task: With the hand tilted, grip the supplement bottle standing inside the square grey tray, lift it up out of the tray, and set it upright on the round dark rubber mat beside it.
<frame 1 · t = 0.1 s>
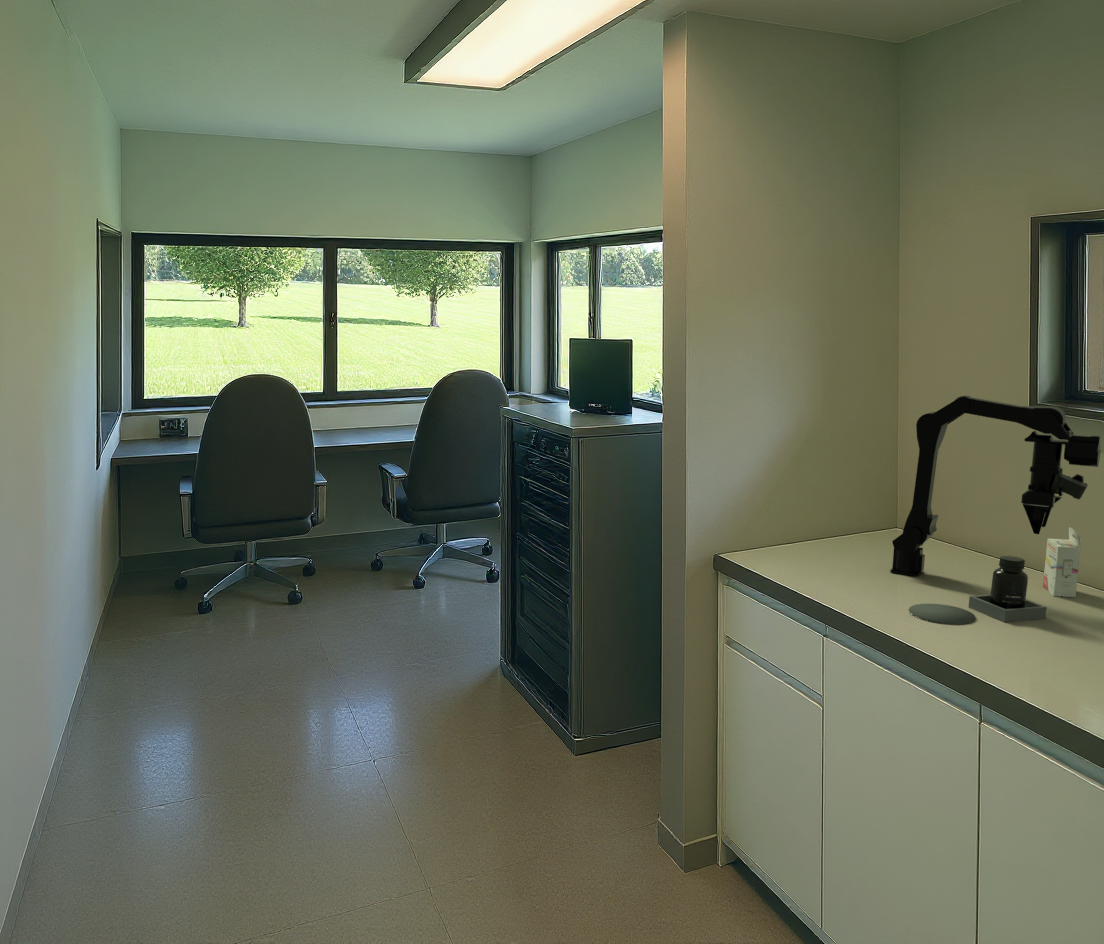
hand: (1039, 530, 216), 15 cm above the worktop, tool pointing down, fingers open, 9 cm apart
square grey tray: (1006, 612, 203), on the worktop
rubber mat: (941, 614, 201), on the worktop
ink cartridge box: (1058, 592, 219), on the worktop
supplement bottle: (1006, 613, 203), resting in square grey tray
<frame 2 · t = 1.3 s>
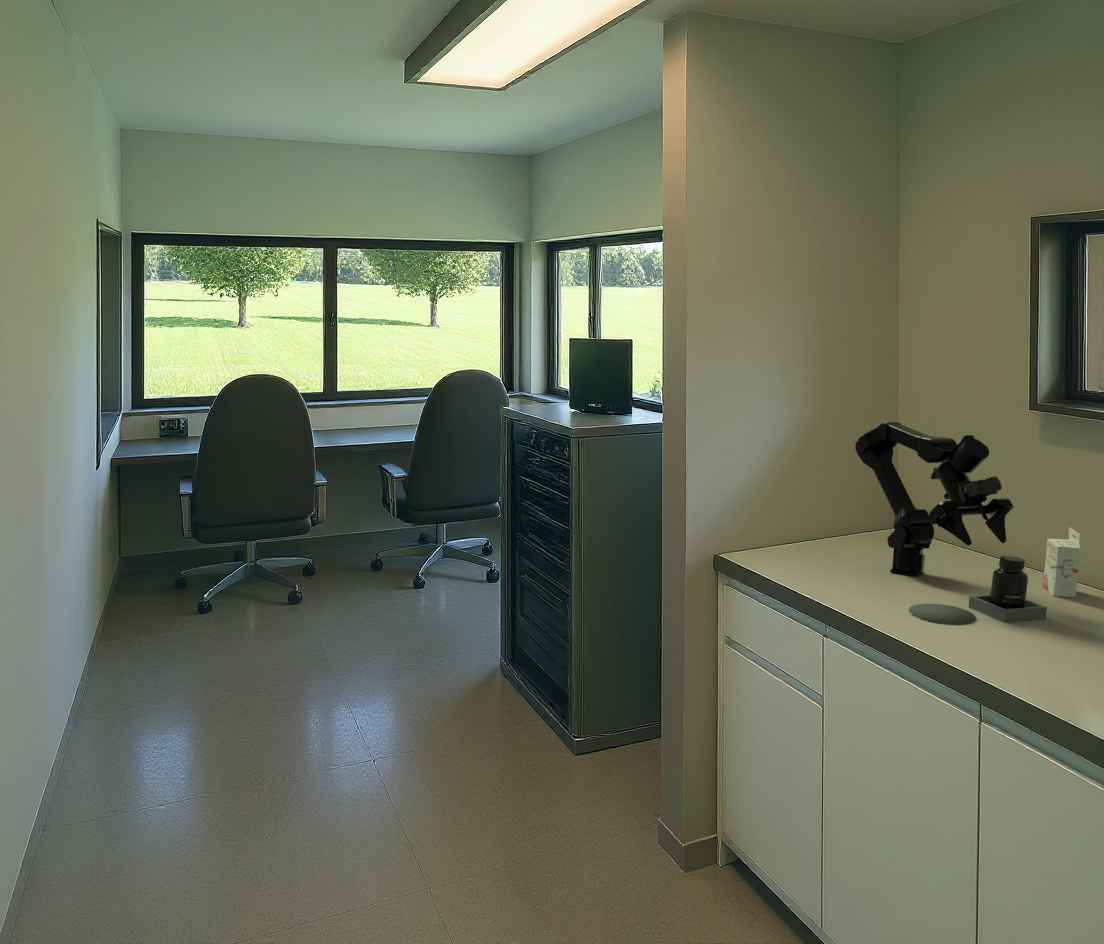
hand: (987, 543, 208), 13 cm above the worktop, tool tilted 45°, fingers open, 9 cm apart
nothing on the worktop moved.
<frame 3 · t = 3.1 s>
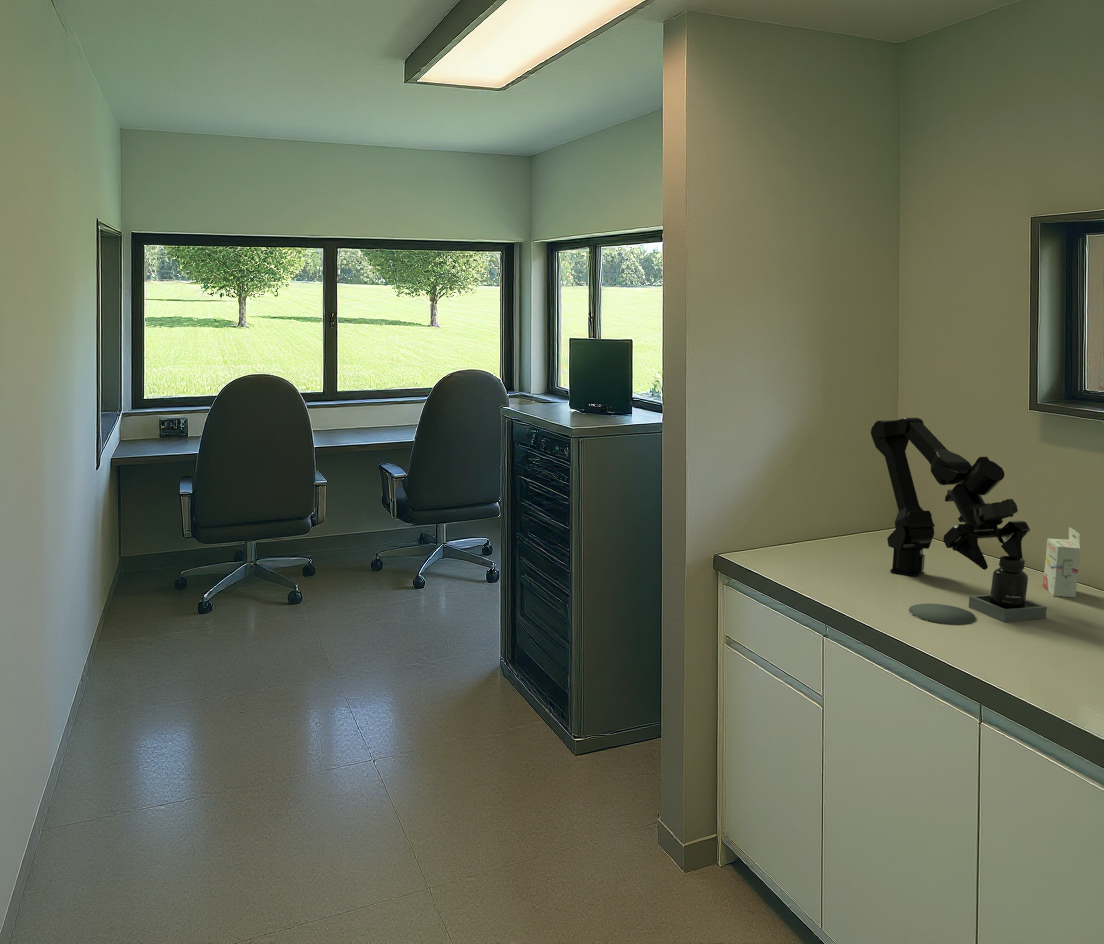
hand: (1003, 567, 203), 9 cm above the worktop, tool tilted 45°, fingers open, 9 cm apart
nothing on the worktop moved.
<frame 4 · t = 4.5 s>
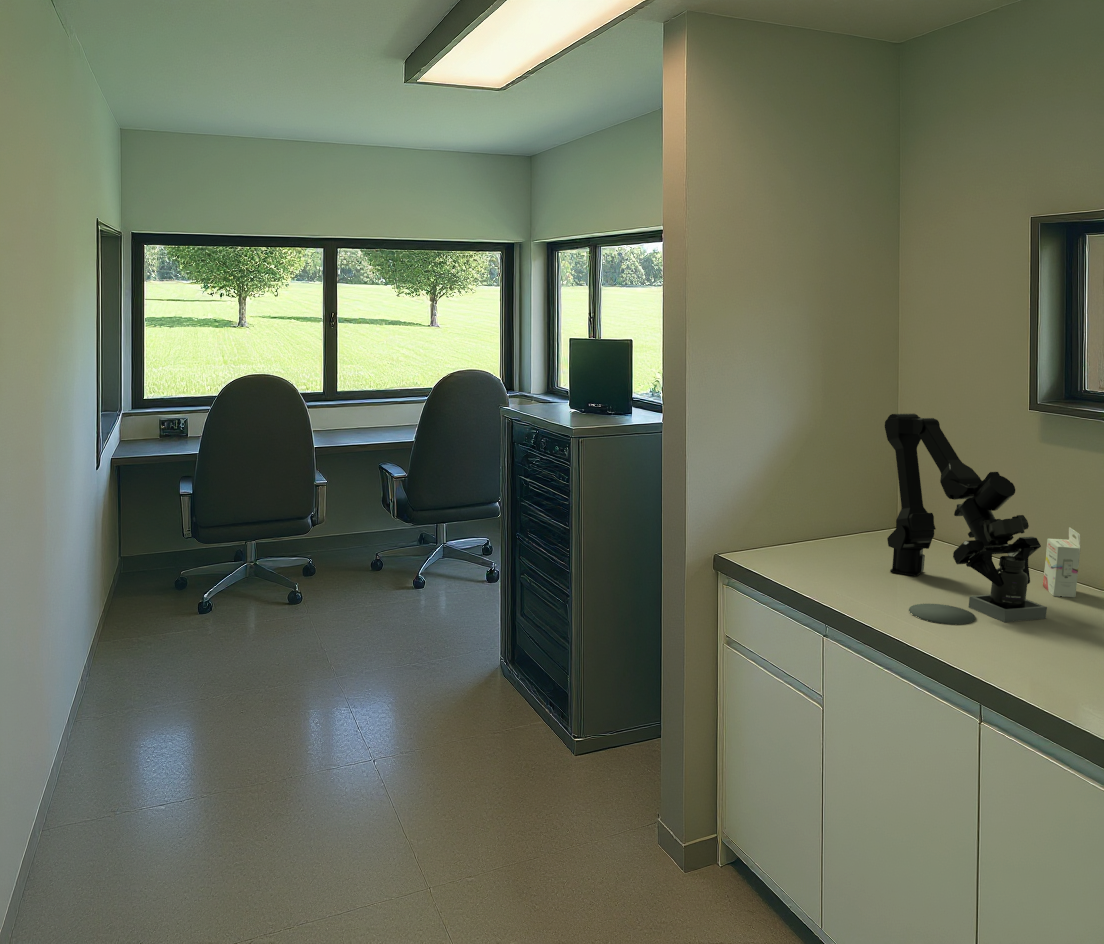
hand: (1014, 584, 200), 7 cm above the worktop, tool tilted 45°, fingers closed on supplement bottle, 7 cm apart
supplement bottle: (1006, 613, 203), resting in square grey tray, touching gripper
everything else where it was.
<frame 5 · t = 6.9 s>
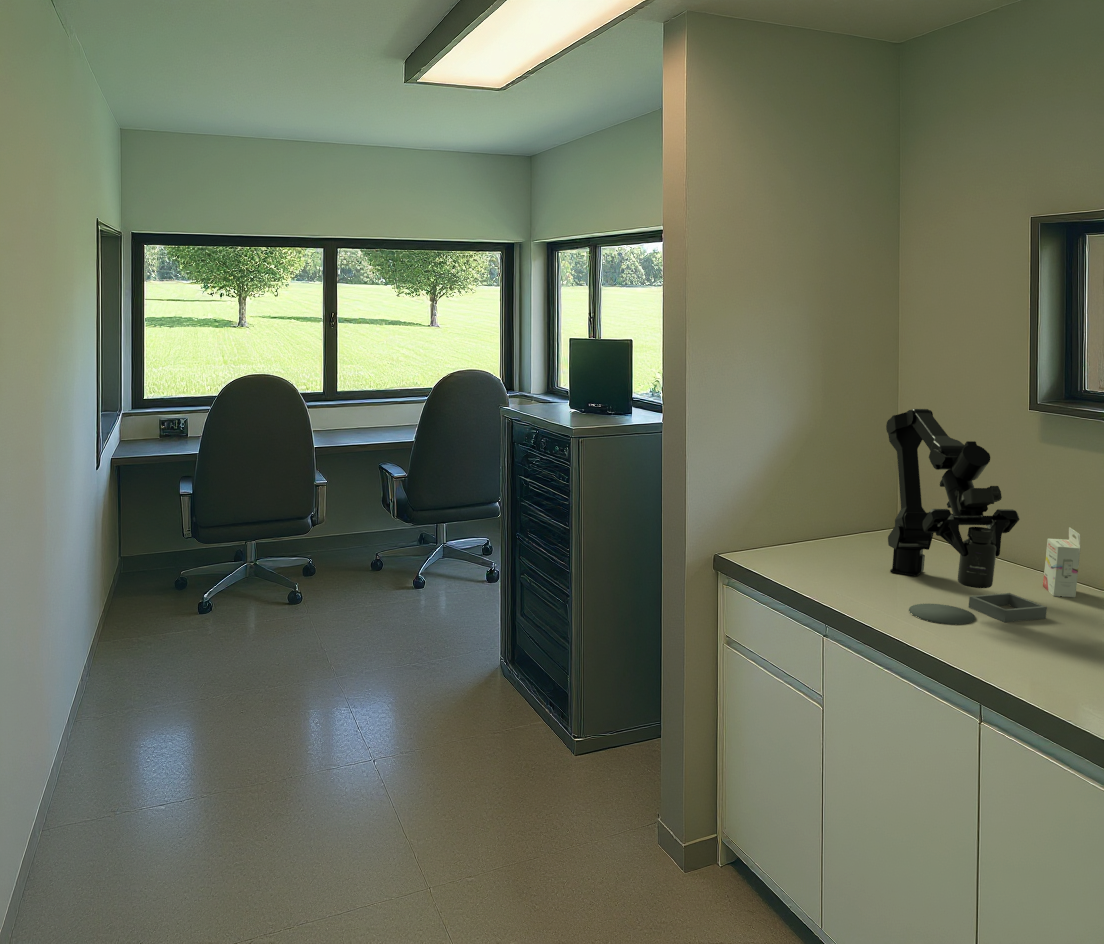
hand: (981, 555, 198), 13 cm above the worktop, tool tilted 45°, fingers closed on supplement bottle, 7 cm apart
supplement bottle: (974, 585, 200), point 6 cm above the worktop, touching gripper
everything else where it was.
when the fingers open (8 cm above the worktop, at t = 9.2 s): supplement bottle stays where it is, resting on rubber mat.
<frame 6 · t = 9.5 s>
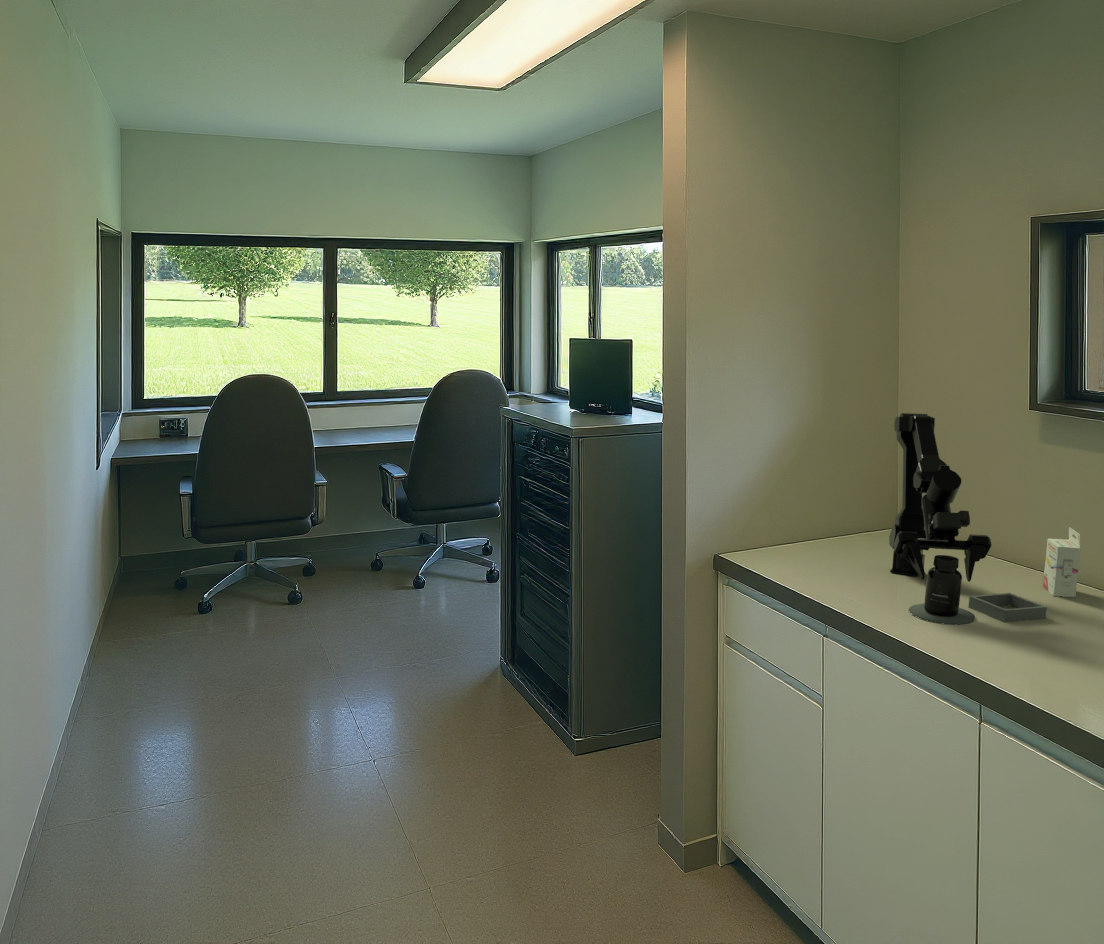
hand: (946, 579, 198), 8 cm above the worktop, tool tilted 45°, fingers open, 9 cm apart
supplement bottle: (941, 613, 201), resting on rubber mat
everything else where it was.
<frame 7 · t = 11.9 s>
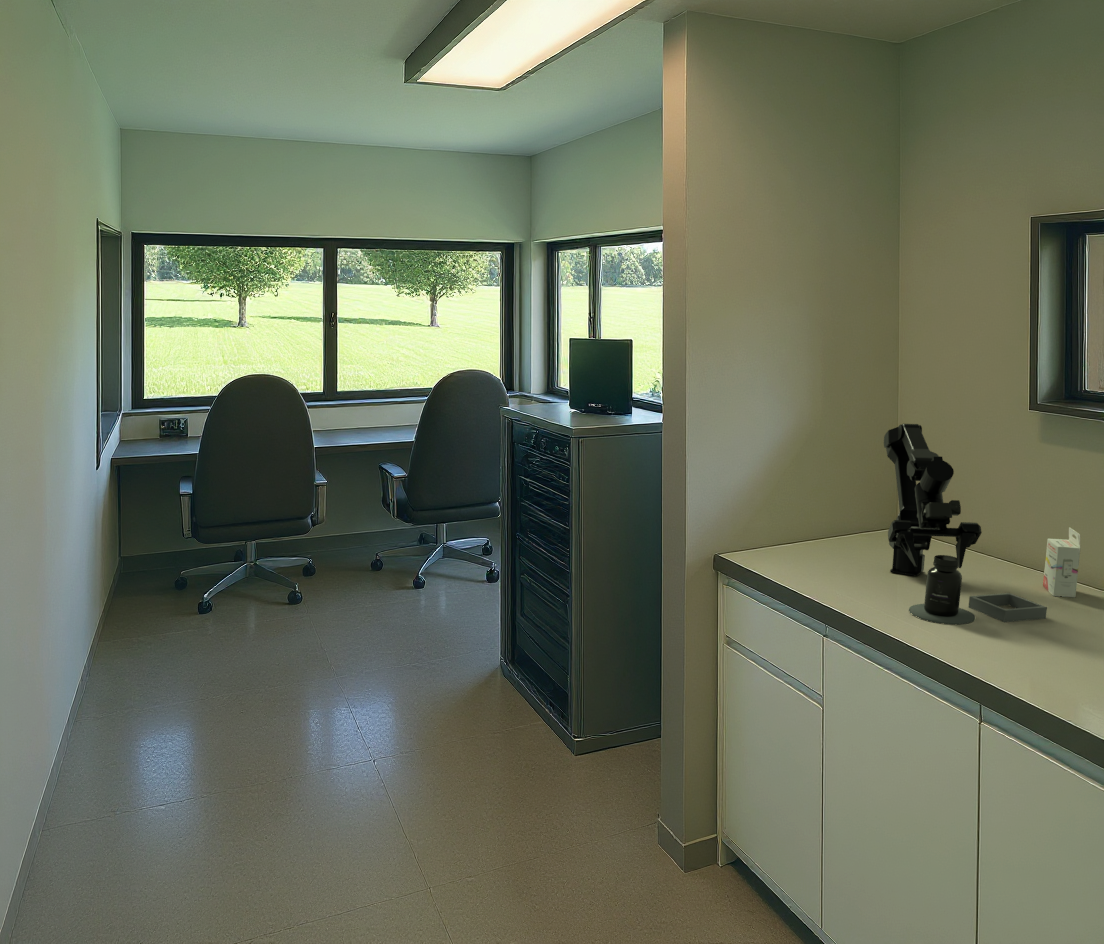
hand: (938, 566, 207), 8 cm above the worktop, tool tilted 40°, fingers open, 9 cm apart
nothing on the worktop moved.
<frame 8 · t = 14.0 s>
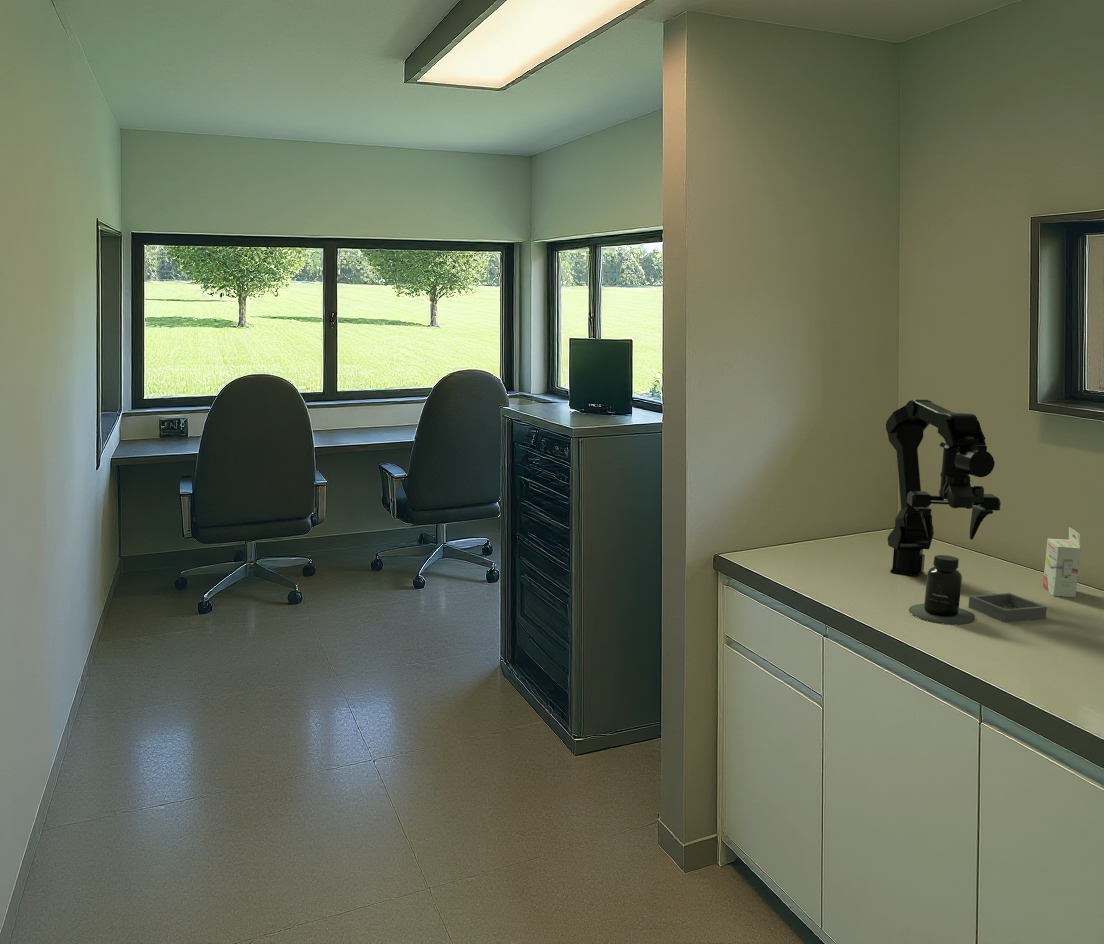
hand: (949, 538, 214), 13 cm above the worktop, tool pointing down, fingers open, 9 cm apart
nothing on the worktop moved.
at the end: supplement bottle 0.2 cm from the rubber mat (horizontally); supplement bottle tilted 0°; the gripper is holding nothing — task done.
